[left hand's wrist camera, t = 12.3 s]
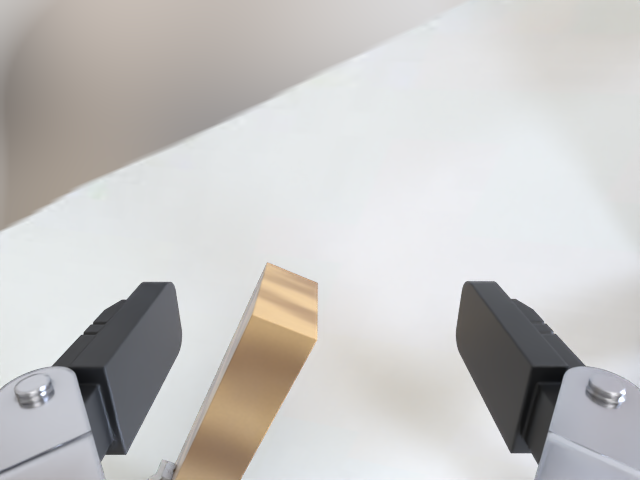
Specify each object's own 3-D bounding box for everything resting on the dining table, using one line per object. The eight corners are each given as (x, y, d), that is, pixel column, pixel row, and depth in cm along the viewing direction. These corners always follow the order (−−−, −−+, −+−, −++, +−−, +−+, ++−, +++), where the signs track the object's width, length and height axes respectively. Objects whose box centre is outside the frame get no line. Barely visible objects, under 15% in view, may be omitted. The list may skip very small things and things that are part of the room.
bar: (267, 261, 32) (252, 314, 25) (318, 282, 33) (317, 339, 26) (175, 463, 40) (143, 548, 33) (217, 477, 41) (195, 562, 34)
